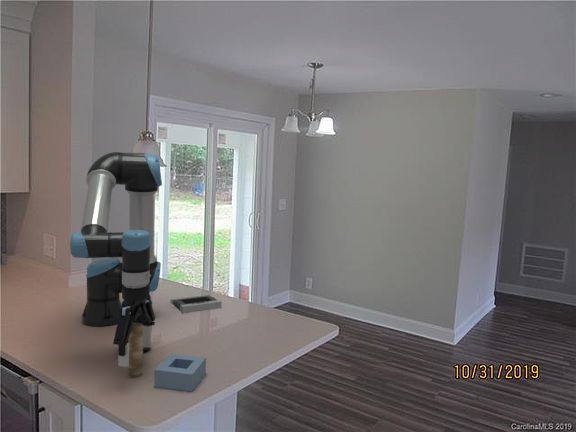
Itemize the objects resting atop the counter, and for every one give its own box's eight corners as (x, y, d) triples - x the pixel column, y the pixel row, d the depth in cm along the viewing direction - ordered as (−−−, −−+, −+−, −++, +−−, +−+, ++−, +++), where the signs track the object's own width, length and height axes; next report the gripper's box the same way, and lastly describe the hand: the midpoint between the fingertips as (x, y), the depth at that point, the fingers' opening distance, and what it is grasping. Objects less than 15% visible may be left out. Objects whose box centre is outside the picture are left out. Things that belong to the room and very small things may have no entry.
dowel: (125, 376, 132) (125, 326, 130) (132, 370, 136) (132, 322, 134) (138, 378, 131) (138, 328, 129) (145, 372, 135) (145, 323, 133)
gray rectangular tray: (182, 306, 186) (170, 293, 200) (182, 317, 187) (169, 303, 201) (221, 301, 196) (207, 288, 209) (220, 311, 196) (206, 298, 210)
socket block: (154, 386, 127) (154, 369, 126) (170, 369, 138) (170, 353, 137) (192, 391, 125) (192, 374, 125) (205, 373, 136) (205, 357, 135)
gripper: (126, 298, 118) (125, 376, 120) (166, 275, 142) (165, 340, 145) (99, 295, 119) (99, 373, 121) (144, 273, 143) (143, 338, 146)
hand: (135, 355), depth 133 cm, fingers open, 13 cm apart
